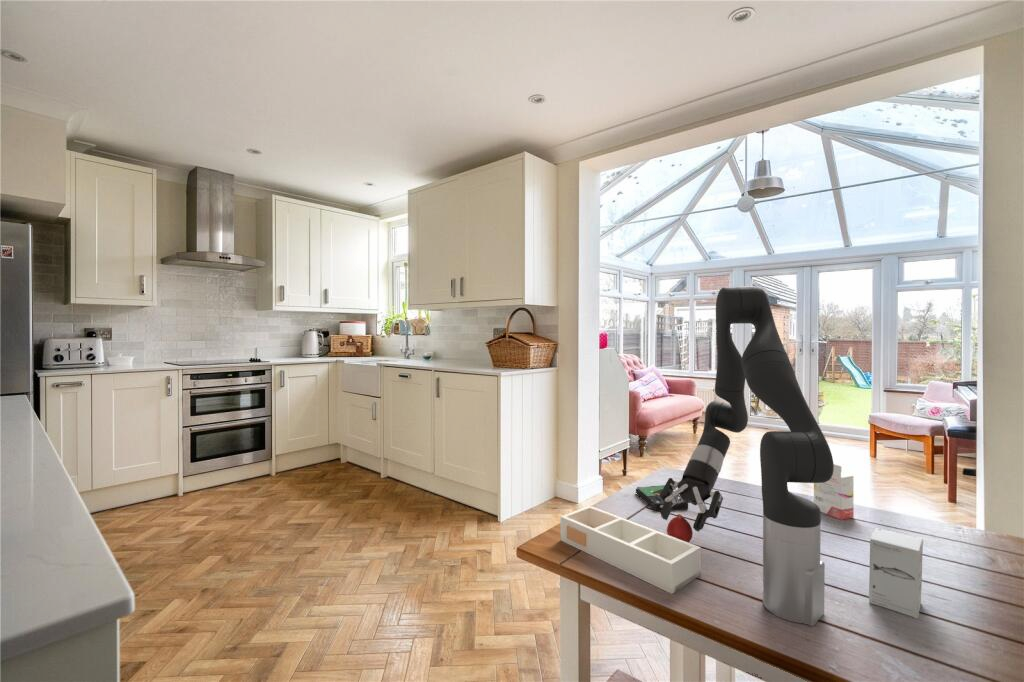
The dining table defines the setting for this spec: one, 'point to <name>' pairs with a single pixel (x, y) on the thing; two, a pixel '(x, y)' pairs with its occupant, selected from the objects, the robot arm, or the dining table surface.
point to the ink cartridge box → (836, 495)
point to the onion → (680, 528)
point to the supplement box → (896, 571)
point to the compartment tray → (633, 547)
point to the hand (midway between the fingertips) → (679, 523)
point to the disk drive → (657, 498)
